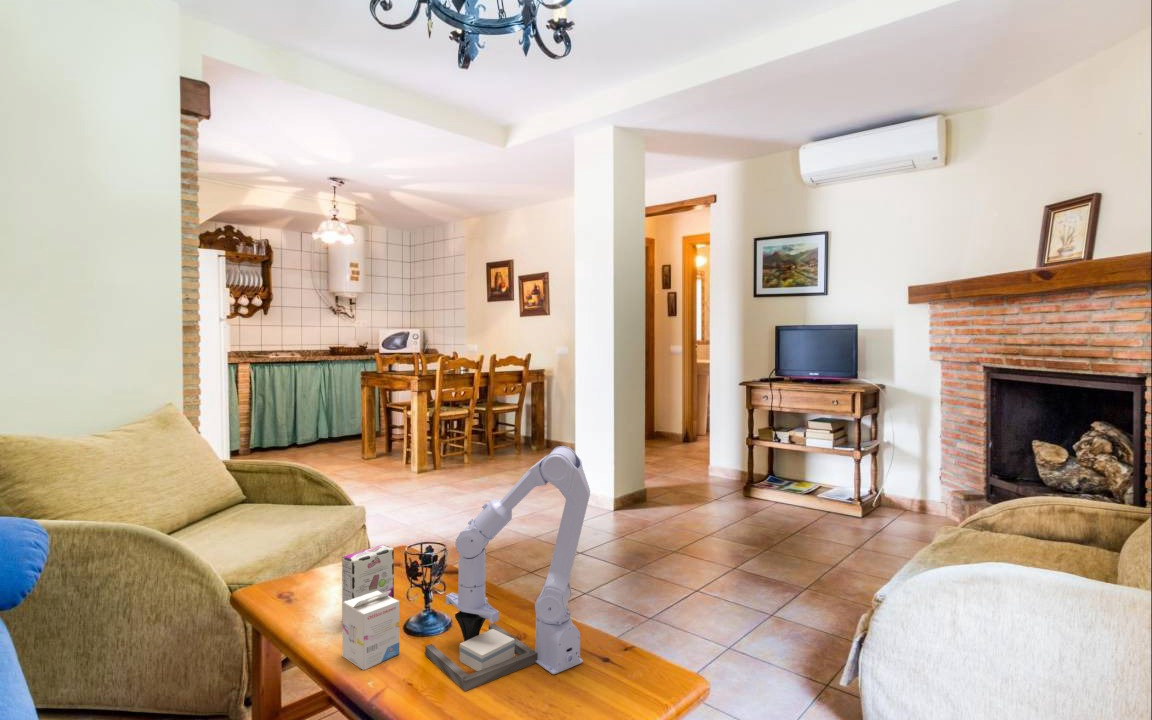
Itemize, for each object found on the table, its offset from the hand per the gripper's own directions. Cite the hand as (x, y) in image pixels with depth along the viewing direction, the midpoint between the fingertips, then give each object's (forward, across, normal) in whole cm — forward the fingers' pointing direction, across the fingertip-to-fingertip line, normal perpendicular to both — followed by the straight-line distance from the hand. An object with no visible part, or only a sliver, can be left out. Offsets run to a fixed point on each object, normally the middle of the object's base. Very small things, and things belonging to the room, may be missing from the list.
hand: (470, 645), depth 130 cm
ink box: (+2, +14, +15) cm, 21 cm away
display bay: (+1, -5, +1) cm, 5 cm away
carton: (+2, -5, 0) cm, 5 cm away
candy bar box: (+1, +29, +6) cm, 30 cm away
